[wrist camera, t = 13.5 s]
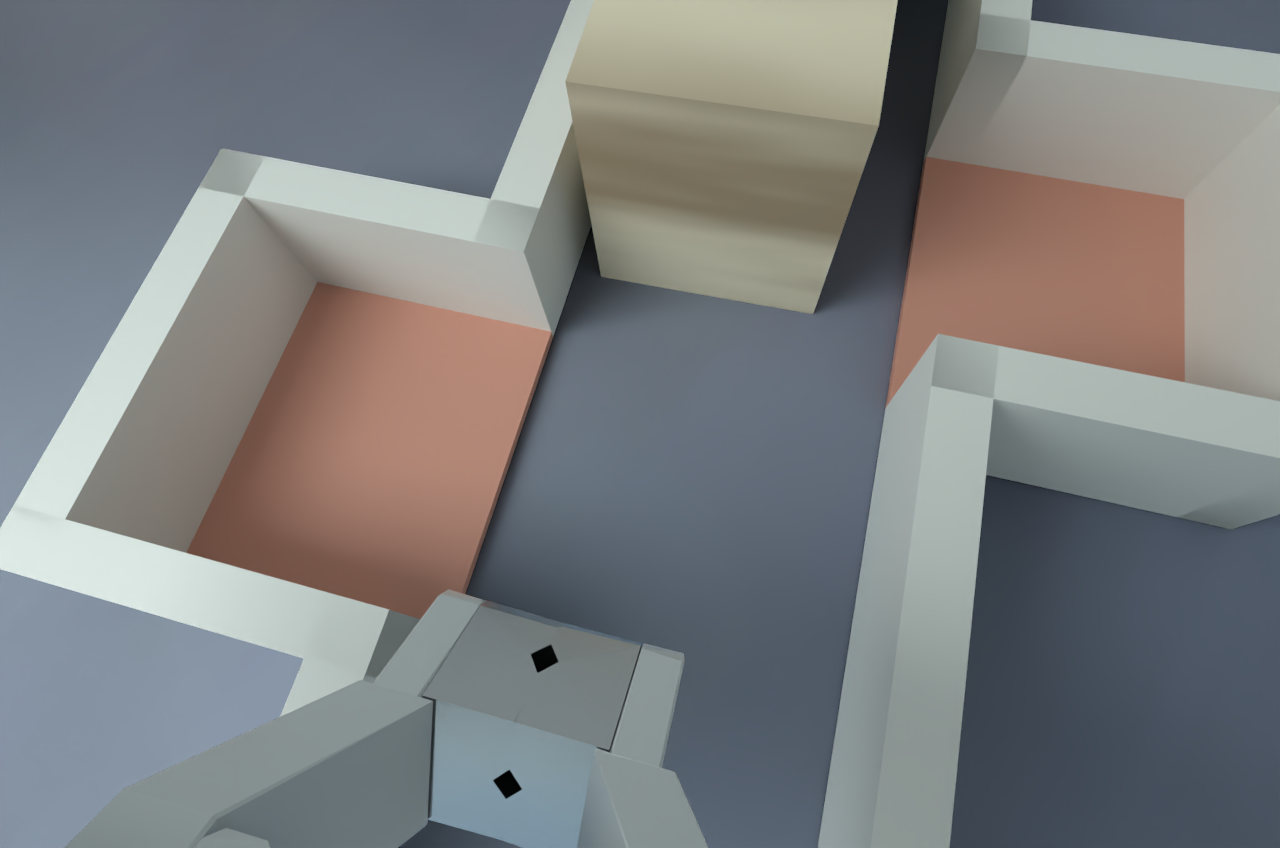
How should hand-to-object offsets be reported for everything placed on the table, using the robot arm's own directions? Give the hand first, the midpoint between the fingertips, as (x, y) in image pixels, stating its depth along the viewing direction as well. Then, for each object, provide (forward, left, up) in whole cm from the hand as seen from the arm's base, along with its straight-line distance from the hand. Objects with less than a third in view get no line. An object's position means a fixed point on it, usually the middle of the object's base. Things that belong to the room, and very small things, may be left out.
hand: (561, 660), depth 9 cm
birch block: (-14, +8, -8) cm, 18 cm away
